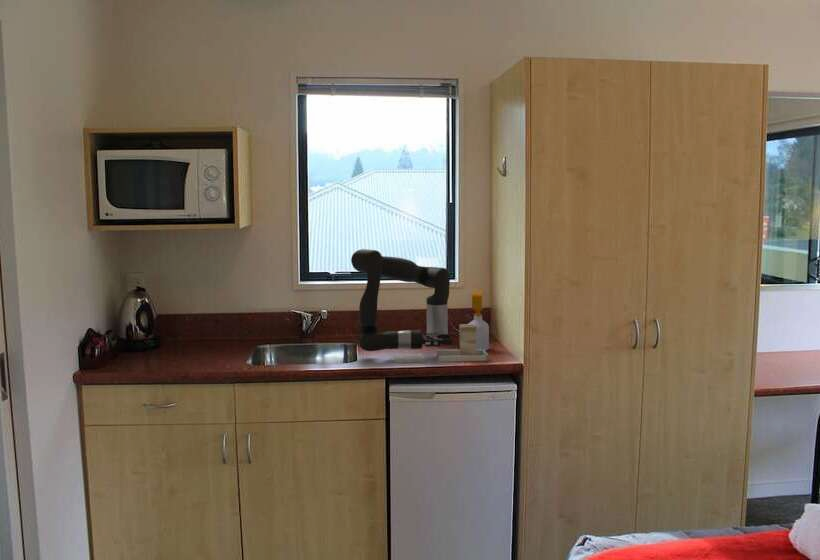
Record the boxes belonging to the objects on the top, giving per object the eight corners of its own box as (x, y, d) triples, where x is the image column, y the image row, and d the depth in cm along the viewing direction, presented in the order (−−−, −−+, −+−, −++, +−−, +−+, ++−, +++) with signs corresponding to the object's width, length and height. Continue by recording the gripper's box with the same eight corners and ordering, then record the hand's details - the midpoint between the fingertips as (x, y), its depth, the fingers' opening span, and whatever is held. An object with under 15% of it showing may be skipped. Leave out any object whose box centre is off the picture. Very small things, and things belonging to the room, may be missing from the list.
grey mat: (394, 355, 260) (394, 354, 260) (424, 354, 261) (424, 353, 260) (395, 362, 248) (394, 361, 248) (425, 361, 249) (425, 361, 249)
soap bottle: (490, 347, 272) (490, 290, 269) (486, 352, 264) (487, 293, 261) (469, 346, 275) (469, 289, 272) (465, 351, 266) (465, 292, 263)
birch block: (459, 356, 257) (459, 324, 256) (474, 355, 258) (474, 324, 256) (460, 359, 253) (460, 326, 251) (476, 358, 253) (476, 326, 251)
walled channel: (436, 354, 260) (436, 349, 260) (484, 353, 261) (484, 348, 261) (438, 361, 249) (438, 356, 249) (488, 360, 250) (488, 355, 249)
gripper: (410, 334, 246) (452, 333, 246) (409, 327, 260) (449, 326, 261) (410, 353, 247) (452, 352, 247) (409, 345, 261) (449, 344, 262)
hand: (450, 339), depth 254 cm, fingers open, 8 cm apart
